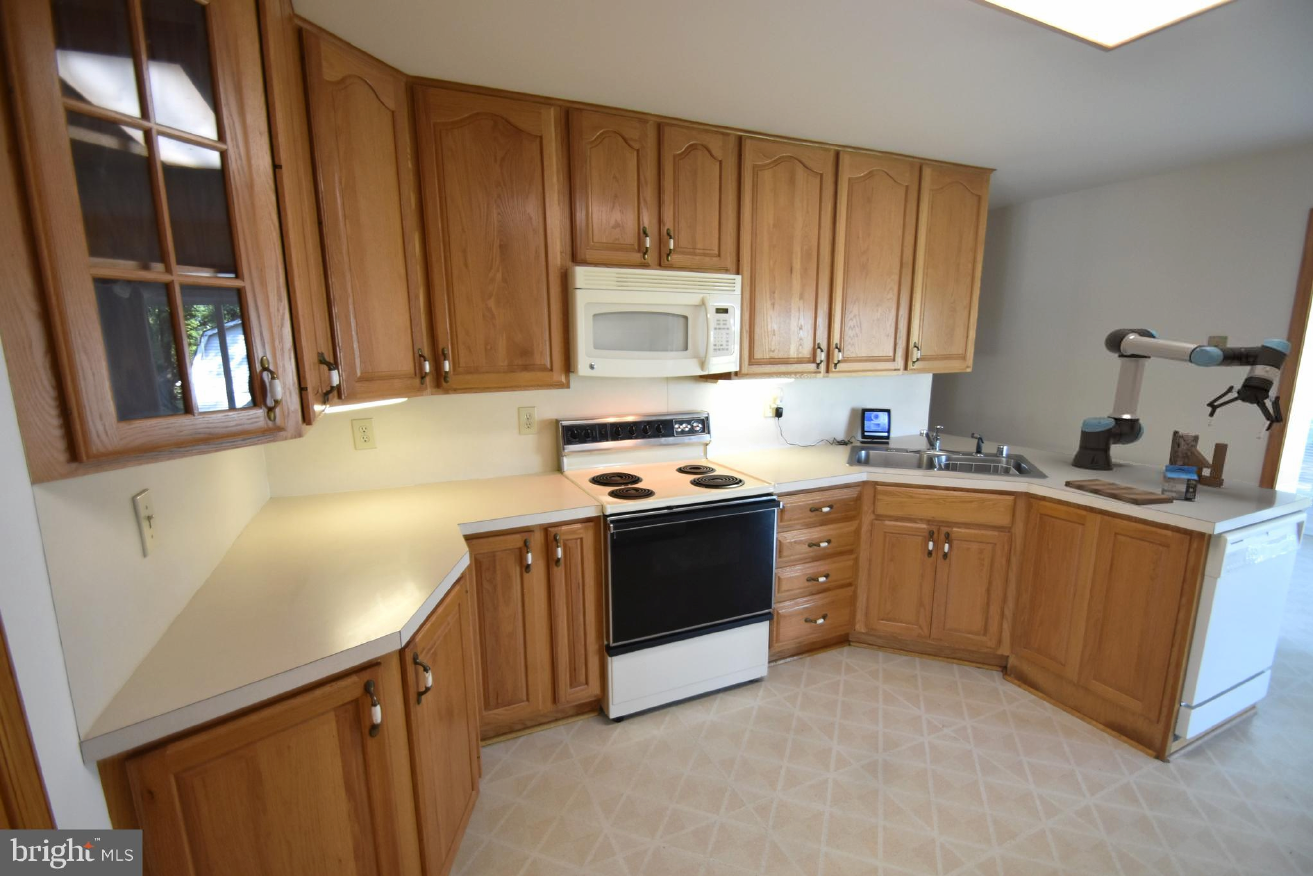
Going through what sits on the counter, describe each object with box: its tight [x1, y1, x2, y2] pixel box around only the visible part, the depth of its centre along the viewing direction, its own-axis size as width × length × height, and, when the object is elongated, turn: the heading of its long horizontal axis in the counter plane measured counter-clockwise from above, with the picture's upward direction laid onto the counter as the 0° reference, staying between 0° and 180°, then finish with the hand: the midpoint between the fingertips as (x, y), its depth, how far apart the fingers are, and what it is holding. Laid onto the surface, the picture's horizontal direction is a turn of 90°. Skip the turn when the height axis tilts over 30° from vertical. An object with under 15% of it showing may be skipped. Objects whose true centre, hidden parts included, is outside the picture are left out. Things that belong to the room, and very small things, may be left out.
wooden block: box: [1188, 442, 1229, 488], centre depth 219 cm, size 4×11×18 cm, turn 16°
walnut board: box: [1064, 478, 1175, 506], centre depth 206 cm, size 28×16×2 cm, turn 12°
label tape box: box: [1160, 464, 1199, 502], centre depth 199 cm, size 9×4×12 cm, turn 59°
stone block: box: [1168, 429, 1200, 471], centre depth 234 cm, size 13×7×20 cm, turn 153°
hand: (1233, 431), depth 199 cm, fingers open, 13 cm apart
